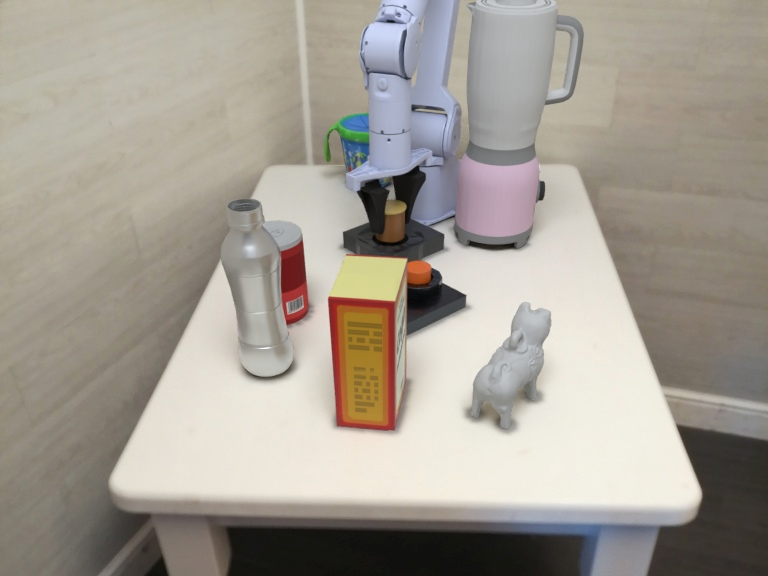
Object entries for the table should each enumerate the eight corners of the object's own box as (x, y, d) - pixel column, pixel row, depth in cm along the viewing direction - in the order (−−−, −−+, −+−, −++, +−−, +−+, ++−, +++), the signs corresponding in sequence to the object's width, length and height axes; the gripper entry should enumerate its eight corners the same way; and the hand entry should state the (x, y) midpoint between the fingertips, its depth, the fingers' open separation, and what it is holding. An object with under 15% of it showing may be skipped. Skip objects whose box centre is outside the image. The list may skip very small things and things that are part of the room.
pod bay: (396, 226, 117) (396, 211, 115) (446, 251, 111) (447, 235, 109) (337, 249, 111) (336, 233, 110) (387, 276, 105) (387, 260, 103)
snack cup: (418, 176, 132) (420, 115, 124) (403, 199, 125) (404, 136, 117) (337, 168, 135) (334, 108, 128) (318, 190, 128) (314, 128, 120)
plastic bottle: (287, 386, 86) (265, 220, 72) (233, 380, 87) (201, 215, 73) (302, 356, 91) (284, 195, 76) (250, 351, 92) (224, 190, 77)
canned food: (313, 298, 101) (307, 220, 93) (303, 328, 95) (295, 248, 87) (260, 296, 101) (248, 218, 94) (246, 326, 96) (233, 246, 88)
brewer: (416, 281, 104) (416, 258, 101) (465, 307, 99) (467, 284, 96) (357, 307, 99) (356, 283, 96) (406, 336, 94) (406, 312, 91)
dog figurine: (552, 380, 87) (568, 298, 79) (506, 437, 79) (518, 353, 71) (512, 366, 89) (523, 286, 81) (463, 421, 81) (470, 338, 73)
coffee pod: (391, 226, 111) (391, 196, 107) (412, 236, 108) (413, 206, 105) (367, 235, 108) (366, 205, 105) (388, 246, 106) (388, 215, 103)
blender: (454, 252, 110) (470, -1, 88) (451, 218, 119) (464, -20, 96) (557, 252, 110) (600, -2, 87) (547, 218, 118) (583, -21, 96)
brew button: (418, 270, 100) (418, 258, 99) (436, 279, 98) (436, 267, 97) (398, 278, 98) (399, 266, 97) (416, 288, 96) (417, 275, 95)
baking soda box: (352, 377, 87) (346, 250, 76) (405, 381, 87) (407, 254, 75) (337, 426, 81) (327, 295, 69) (394, 431, 80) (394, 299, 69)
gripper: (409, 109, 103) (408, 204, 113) (329, 132, 96) (335, 232, 106) (444, 121, 99) (439, 219, 109) (363, 146, 93) (366, 248, 102)
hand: (390, 226), depth 107 cm, fingers closed on coffee pod, 4 cm apart
